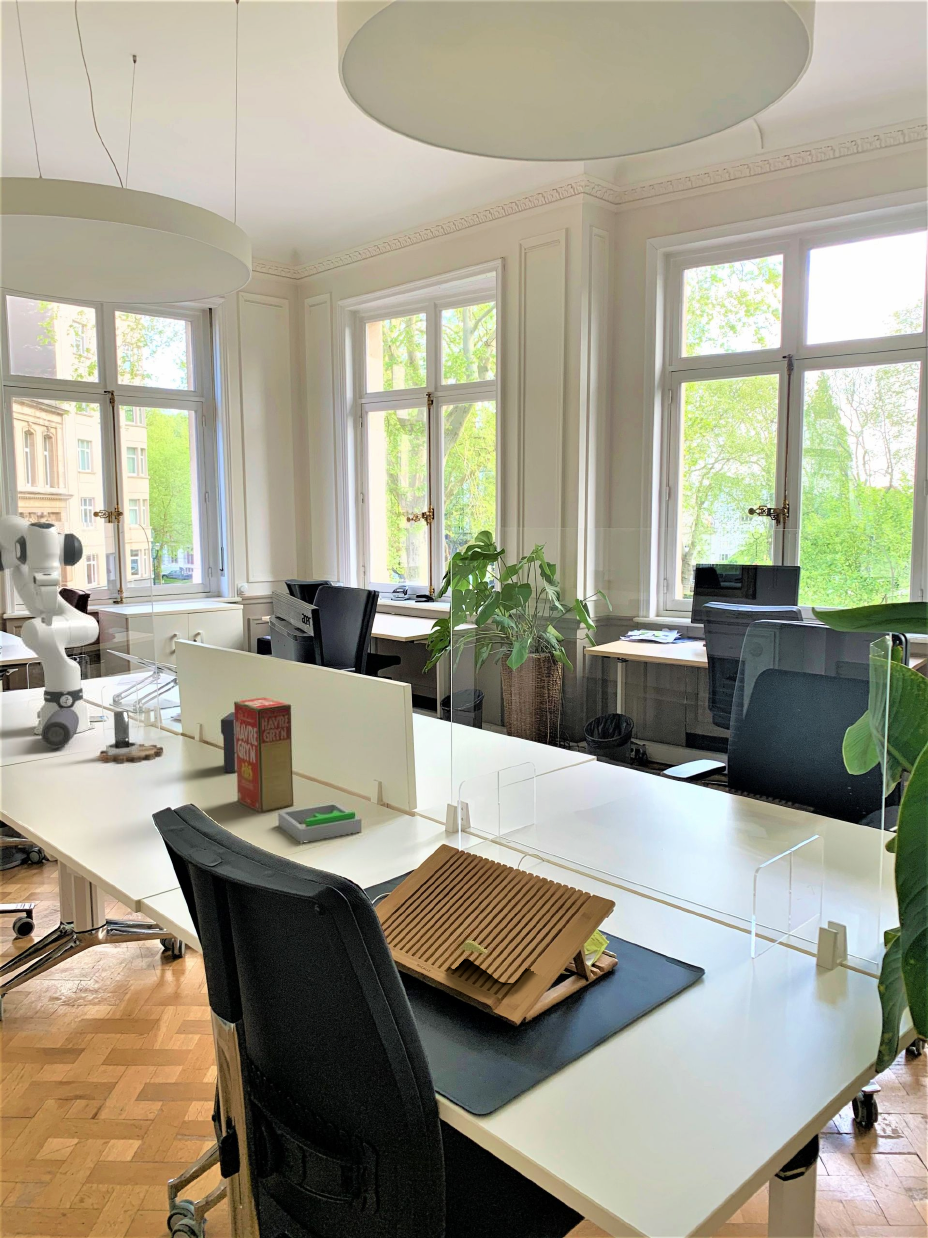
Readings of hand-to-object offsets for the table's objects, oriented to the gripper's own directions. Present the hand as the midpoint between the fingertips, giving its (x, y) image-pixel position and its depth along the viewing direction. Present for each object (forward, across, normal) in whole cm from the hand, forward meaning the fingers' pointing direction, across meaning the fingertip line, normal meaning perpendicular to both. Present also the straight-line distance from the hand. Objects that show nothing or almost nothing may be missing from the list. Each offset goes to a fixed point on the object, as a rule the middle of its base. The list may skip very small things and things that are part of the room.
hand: (46, 624), depth 264 cm
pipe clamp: (+40, +110, +42) cm, 125 cm away
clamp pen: (+39, +106, +42) cm, 120 cm away
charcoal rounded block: (+39, +44, +42) cm, 72 cm away
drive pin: (+38, +14, +17) cm, 44 cm away
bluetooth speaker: (+39, -14, +4) cm, 42 cm away
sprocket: (+39, +14, +20) cm, 46 cm away
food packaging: (+39, +81, +38) cm, 98 cm away
